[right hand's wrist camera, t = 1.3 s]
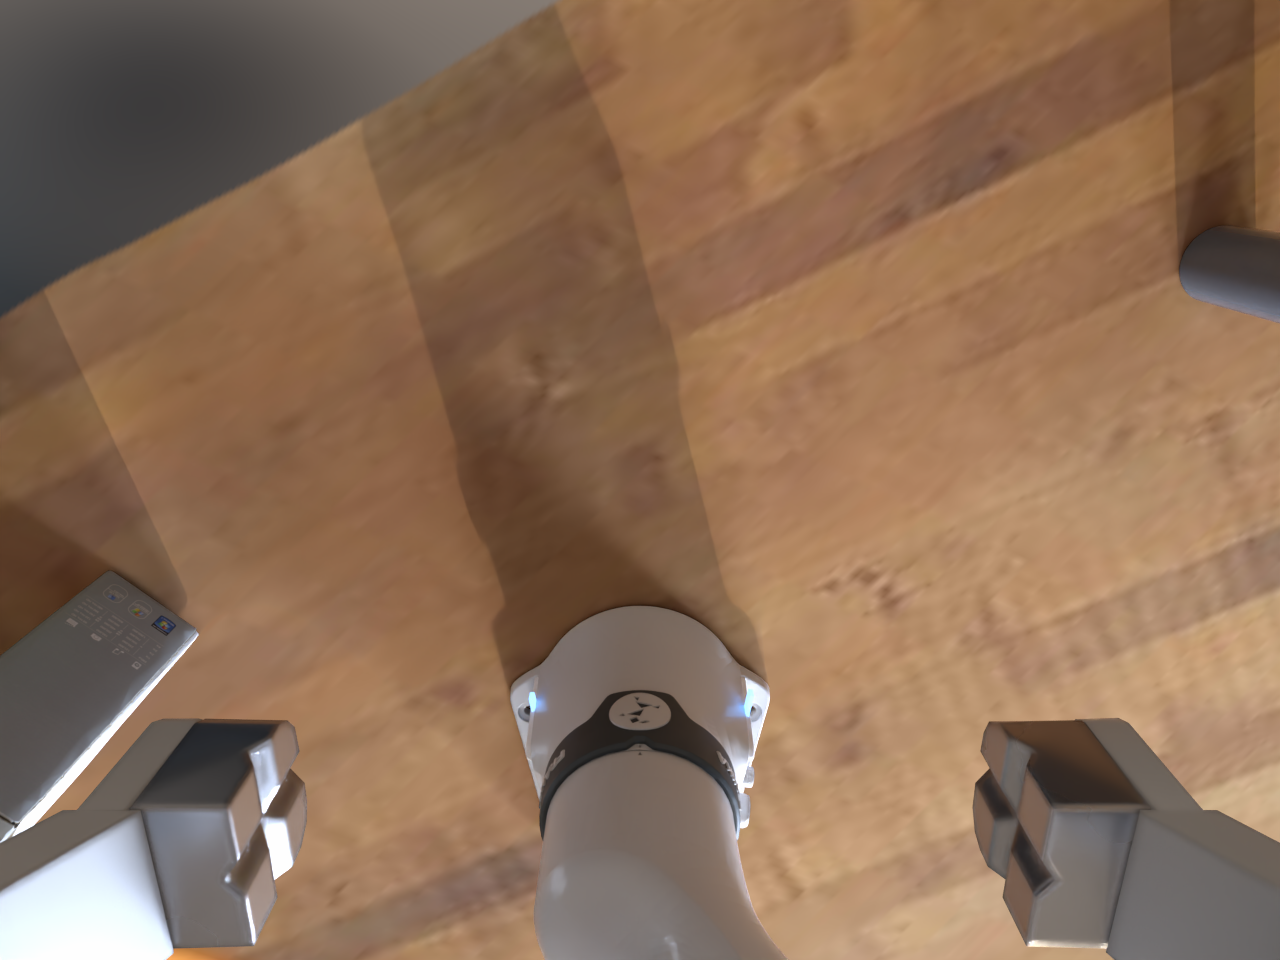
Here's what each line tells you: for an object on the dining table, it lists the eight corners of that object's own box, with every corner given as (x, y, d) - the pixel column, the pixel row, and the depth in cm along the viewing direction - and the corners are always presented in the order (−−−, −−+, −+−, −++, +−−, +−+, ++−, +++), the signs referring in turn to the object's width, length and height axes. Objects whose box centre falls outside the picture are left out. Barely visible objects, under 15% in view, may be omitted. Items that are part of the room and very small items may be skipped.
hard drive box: (109, 563, 63) (-117, 743, 44) (204, 629, 64) (26, 827, 46) (0, 706, 67) (-250, 925, 48) (92, 763, 68) (-114, 997, 50)
